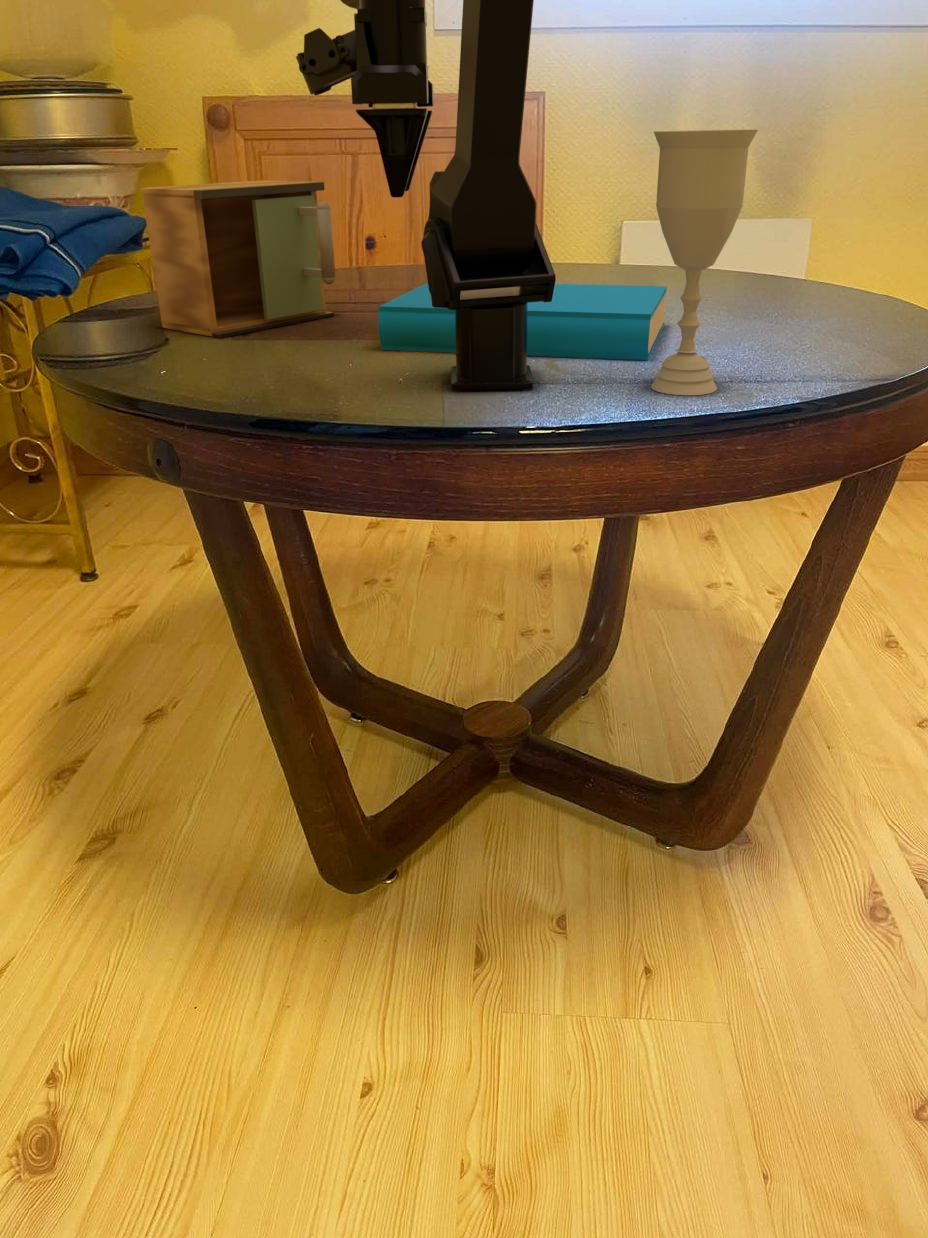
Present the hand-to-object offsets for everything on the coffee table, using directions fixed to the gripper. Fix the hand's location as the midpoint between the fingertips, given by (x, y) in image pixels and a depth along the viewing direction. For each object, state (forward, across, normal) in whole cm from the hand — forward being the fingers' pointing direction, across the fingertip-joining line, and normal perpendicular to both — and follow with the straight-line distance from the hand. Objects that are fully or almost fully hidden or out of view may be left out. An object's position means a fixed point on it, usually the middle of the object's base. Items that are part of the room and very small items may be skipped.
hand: (400, 193), depth 91 cm
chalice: (+13, +23, +23) cm, 35 cm away
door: (+12, -7, -11) cm, 18 cm away
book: (+13, +2, +12) cm, 18 cm away
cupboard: (+13, -10, -18) cm, 24 cm away
